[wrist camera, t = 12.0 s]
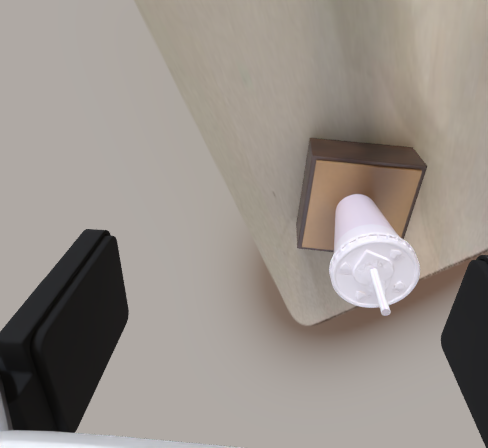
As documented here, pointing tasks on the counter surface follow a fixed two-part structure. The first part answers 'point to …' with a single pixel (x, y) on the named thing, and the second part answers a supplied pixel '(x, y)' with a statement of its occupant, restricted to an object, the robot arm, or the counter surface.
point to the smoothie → (370, 257)
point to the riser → (355, 186)
